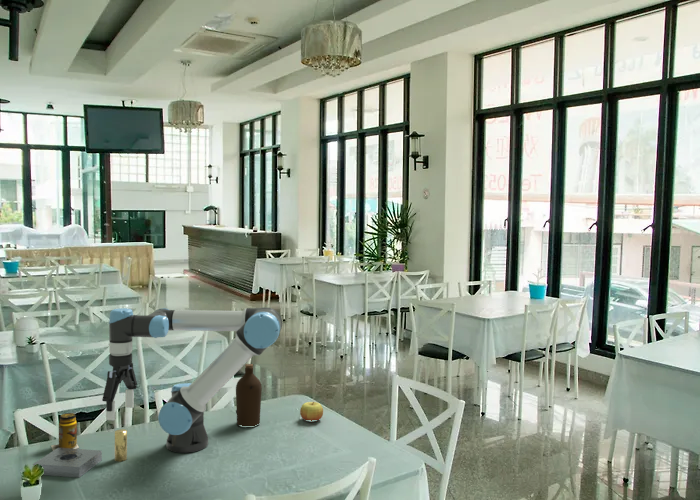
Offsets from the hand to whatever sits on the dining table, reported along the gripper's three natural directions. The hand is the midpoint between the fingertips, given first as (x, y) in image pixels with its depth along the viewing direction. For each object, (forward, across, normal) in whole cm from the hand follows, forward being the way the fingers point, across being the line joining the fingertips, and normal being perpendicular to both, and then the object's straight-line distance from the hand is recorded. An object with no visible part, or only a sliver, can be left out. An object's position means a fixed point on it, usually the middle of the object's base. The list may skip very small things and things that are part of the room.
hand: (120, 413), depth 210 cm
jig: (+16, +9, -14) cm, 23 cm away
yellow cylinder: (+16, 0, 0) cm, 16 cm away
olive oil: (+16, -42, +34) cm, 57 cm away
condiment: (+17, -7, -25) cm, 31 cm away
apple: (+16, -51, +59) cm, 80 cm away
